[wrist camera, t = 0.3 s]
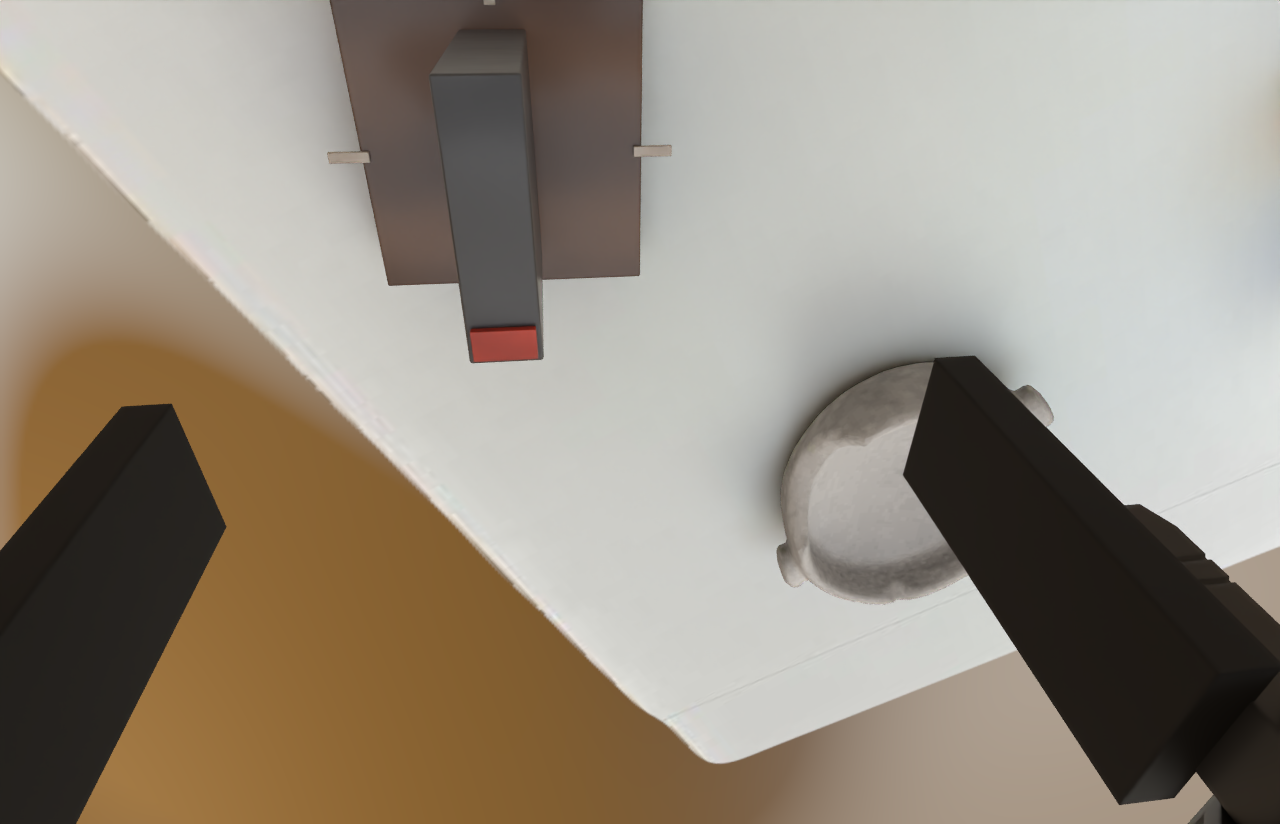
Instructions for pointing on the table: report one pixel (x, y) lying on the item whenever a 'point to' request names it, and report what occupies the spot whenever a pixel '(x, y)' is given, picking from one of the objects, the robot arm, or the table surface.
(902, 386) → the dish
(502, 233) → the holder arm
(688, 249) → the table surface
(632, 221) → the stand
